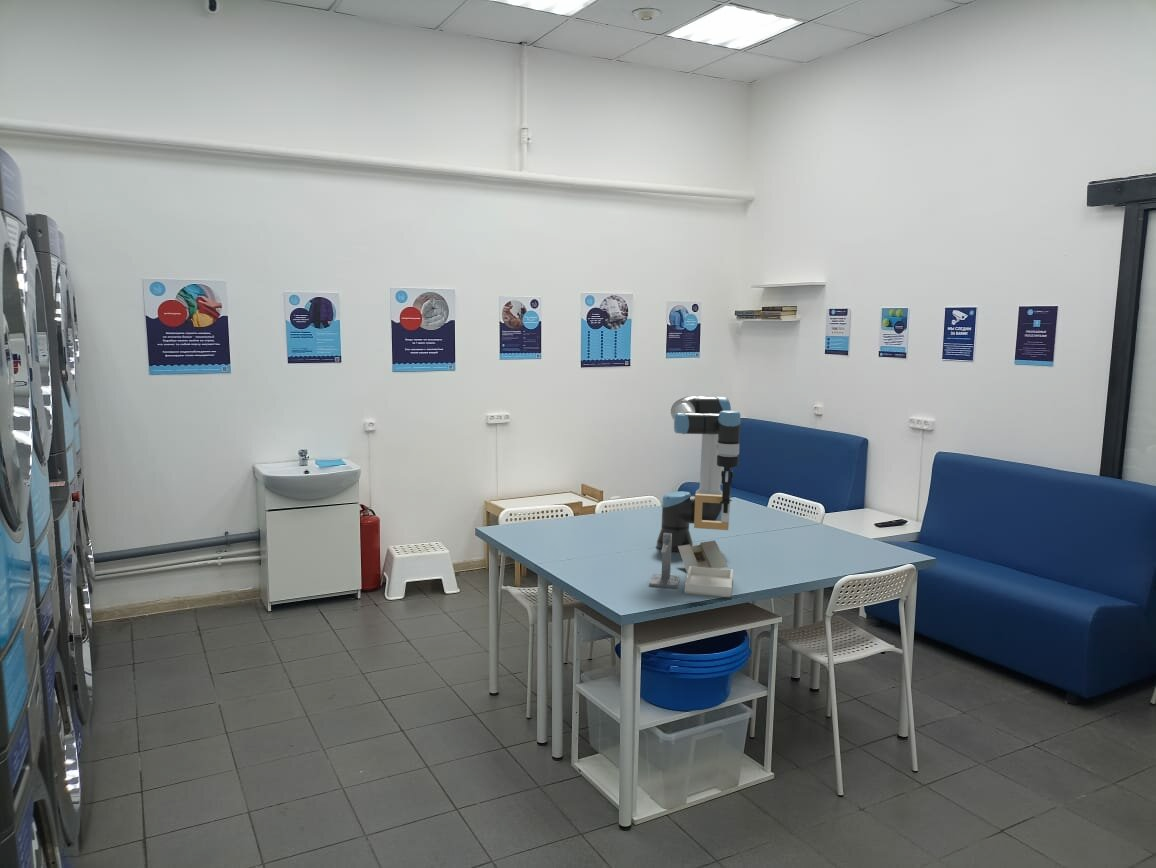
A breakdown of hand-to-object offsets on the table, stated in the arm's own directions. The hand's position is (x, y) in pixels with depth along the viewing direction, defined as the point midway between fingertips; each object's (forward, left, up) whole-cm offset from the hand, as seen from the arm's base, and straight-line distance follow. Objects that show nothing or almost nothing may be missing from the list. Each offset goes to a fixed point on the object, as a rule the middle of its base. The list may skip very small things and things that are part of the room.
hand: (725, 520), depth 288 cm
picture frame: (0, -5, -3) cm, 6 cm away
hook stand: (+2, -21, -24) cm, 32 cm away
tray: (0, -5, -24) cm, 25 cm away
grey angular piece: (-22, -8, -25) cm, 34 cm away
